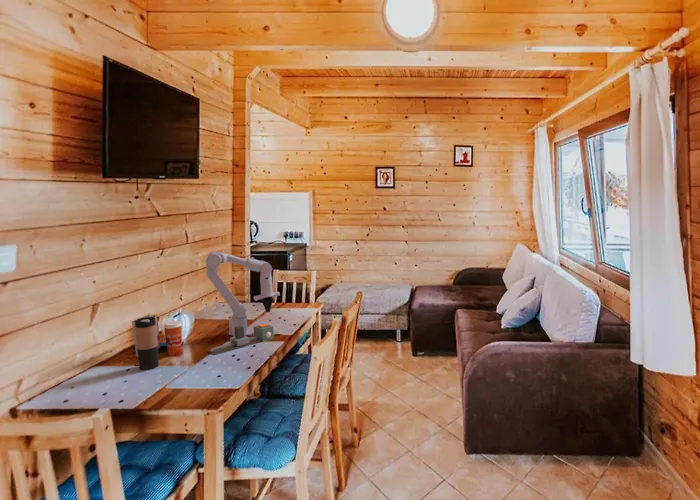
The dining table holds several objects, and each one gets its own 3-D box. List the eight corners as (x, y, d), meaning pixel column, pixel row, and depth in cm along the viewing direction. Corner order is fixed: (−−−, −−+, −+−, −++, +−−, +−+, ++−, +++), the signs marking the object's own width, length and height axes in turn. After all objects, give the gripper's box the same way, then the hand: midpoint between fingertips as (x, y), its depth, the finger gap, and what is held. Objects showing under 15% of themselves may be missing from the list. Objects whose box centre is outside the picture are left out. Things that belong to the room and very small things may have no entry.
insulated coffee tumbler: (151, 348, 200) (148, 314, 198) (161, 349, 199) (158, 314, 197) (134, 357, 189) (131, 321, 187) (144, 357, 188) (141, 321, 186)
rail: (208, 351, 193) (208, 347, 193) (253, 339, 209) (253, 335, 209) (215, 354, 189) (214, 350, 189) (260, 341, 205) (260, 337, 205)
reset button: (258, 332, 209) (257, 325, 209) (264, 330, 212) (264, 323, 212) (262, 333, 207) (262, 326, 206) (268, 331, 209) (268, 324, 209)
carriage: (230, 342, 201) (229, 327, 200) (241, 339, 205) (240, 324, 204) (238, 346, 196) (237, 330, 195) (249, 342, 200) (248, 327, 199)
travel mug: (143, 364, 181) (139, 317, 178) (162, 362, 181) (158, 316, 179) (135, 371, 173) (131, 322, 171) (155, 369, 174) (151, 321, 171)
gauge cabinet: (254, 338, 210) (253, 326, 210) (264, 335, 215) (263, 323, 214) (263, 341, 205) (262, 329, 204) (274, 338, 209) (273, 326, 208)
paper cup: (166, 357, 187) (163, 326, 186) (164, 352, 194) (162, 322, 193) (185, 354, 191) (183, 323, 189) (183, 349, 198) (181, 319, 196)
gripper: (258, 289, 212) (260, 316, 213) (282, 284, 222) (284, 310, 223) (250, 287, 217) (252, 313, 218) (274, 282, 227) (276, 308, 228)
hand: (267, 311), depth 221 cm, fingers closed
